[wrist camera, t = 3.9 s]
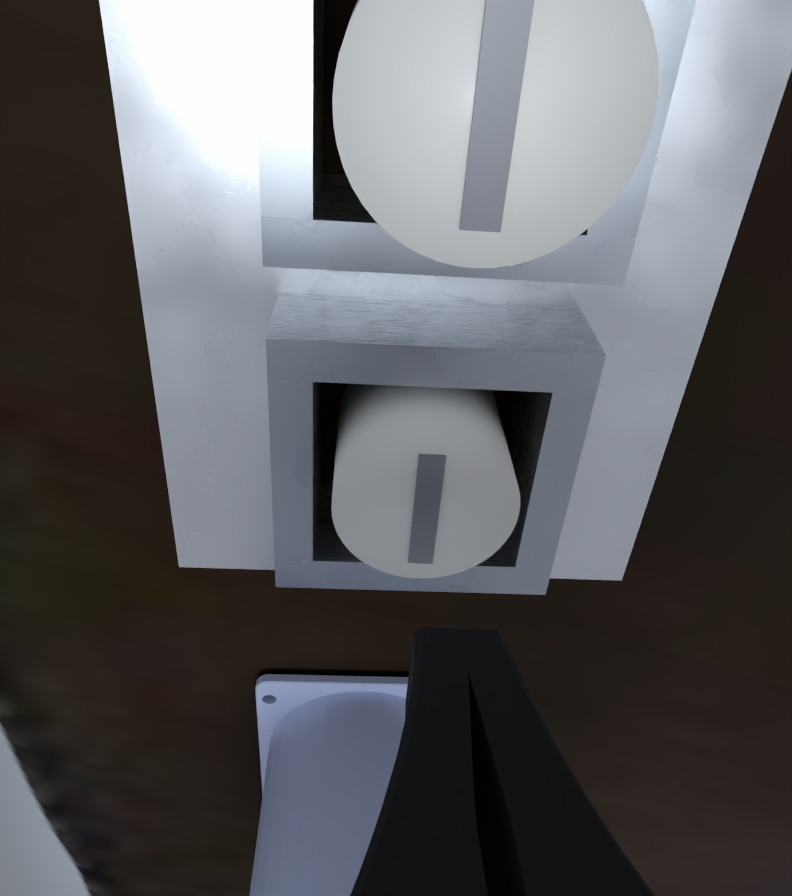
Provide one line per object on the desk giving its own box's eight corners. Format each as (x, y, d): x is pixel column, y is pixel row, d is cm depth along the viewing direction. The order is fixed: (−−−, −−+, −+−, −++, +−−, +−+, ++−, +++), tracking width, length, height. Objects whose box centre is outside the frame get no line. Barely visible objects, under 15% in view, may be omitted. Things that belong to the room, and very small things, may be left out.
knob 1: (559, 198, 15) (616, 278, 11) (341, 184, 14) (330, 262, 11) (609, -69, 12) (704, -73, 9) (346, -90, 12) (334, -104, 8)
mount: (613, 558, 24) (645, 641, 21) (185, 545, 23) (159, 628, 21) (876, -273, 13) (1019, -334, 10) (68, -352, 12) (-26, -443, 9)
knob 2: (484, 480, 22) (505, 583, 18) (337, 474, 22) (330, 578, 18) (506, 347, 19) (536, 438, 16) (340, 339, 19) (332, 429, 16)
